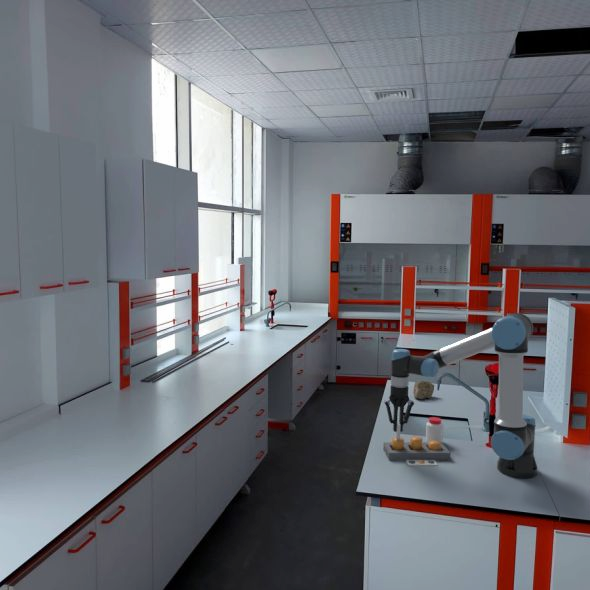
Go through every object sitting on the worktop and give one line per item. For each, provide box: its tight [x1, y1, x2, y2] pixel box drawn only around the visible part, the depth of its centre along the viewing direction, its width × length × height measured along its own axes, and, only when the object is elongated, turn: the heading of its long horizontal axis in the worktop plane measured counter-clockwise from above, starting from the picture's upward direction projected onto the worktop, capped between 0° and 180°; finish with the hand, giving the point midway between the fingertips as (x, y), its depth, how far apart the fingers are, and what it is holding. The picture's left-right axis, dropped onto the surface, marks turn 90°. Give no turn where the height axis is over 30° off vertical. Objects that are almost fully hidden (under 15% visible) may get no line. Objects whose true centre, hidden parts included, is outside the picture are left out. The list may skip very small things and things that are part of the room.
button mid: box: [409, 436, 423, 450], centre depth 240 cm, size 5×5×4 cm
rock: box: [412, 380, 435, 400], centre depth 325 cm, size 11×12×10 cm
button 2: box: [428, 441, 441, 450], centre depth 241 cm, size 5×5×4 cm
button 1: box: [391, 436, 405, 450], centre depth 240 cm, size 5×5×4 cm
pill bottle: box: [425, 416, 445, 444], centre depth 254 cm, size 8×8×11 cm
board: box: [383, 441, 451, 461], centre depth 240 cm, size 26×12×3 cm, turn 92°
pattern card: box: [405, 460, 438, 467], centre depth 231 cm, size 12×5×1 cm, turn 92°
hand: (397, 438), depth 240 cm, fingers closed
